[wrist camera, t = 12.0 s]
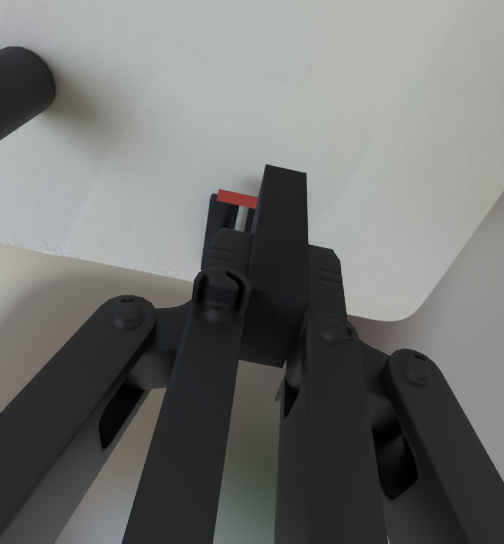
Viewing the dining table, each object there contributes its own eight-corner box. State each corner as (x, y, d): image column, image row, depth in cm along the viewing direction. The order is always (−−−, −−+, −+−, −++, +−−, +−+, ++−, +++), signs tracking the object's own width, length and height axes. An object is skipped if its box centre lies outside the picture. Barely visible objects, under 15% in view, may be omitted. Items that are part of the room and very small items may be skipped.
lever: (219, 190, 47) (218, 188, 45) (272, 201, 48) (274, 200, 45) (199, 294, 49) (197, 298, 47) (250, 304, 49) (250, 308, 47)
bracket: (212, 193, 52) (191, 252, 42) (278, 207, 52) (273, 269, 43) (202, 264, 60) (183, 327, 50) (259, 275, 61) (251, 340, 51)
